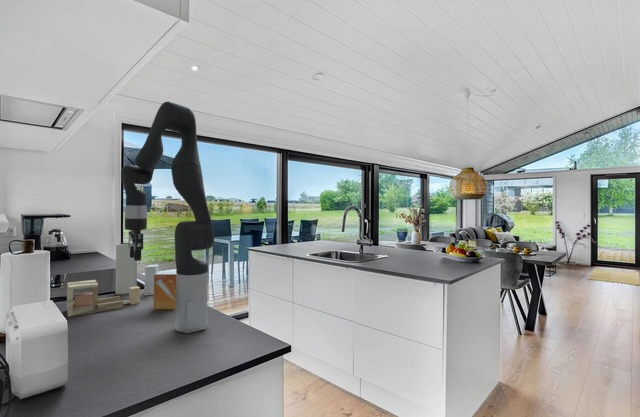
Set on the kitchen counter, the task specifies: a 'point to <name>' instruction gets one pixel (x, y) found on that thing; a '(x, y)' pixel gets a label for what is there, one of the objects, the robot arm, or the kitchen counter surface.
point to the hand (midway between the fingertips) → (135, 259)
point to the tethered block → (87, 297)
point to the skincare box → (150, 279)
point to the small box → (165, 290)
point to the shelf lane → (98, 304)
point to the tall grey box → (125, 270)
